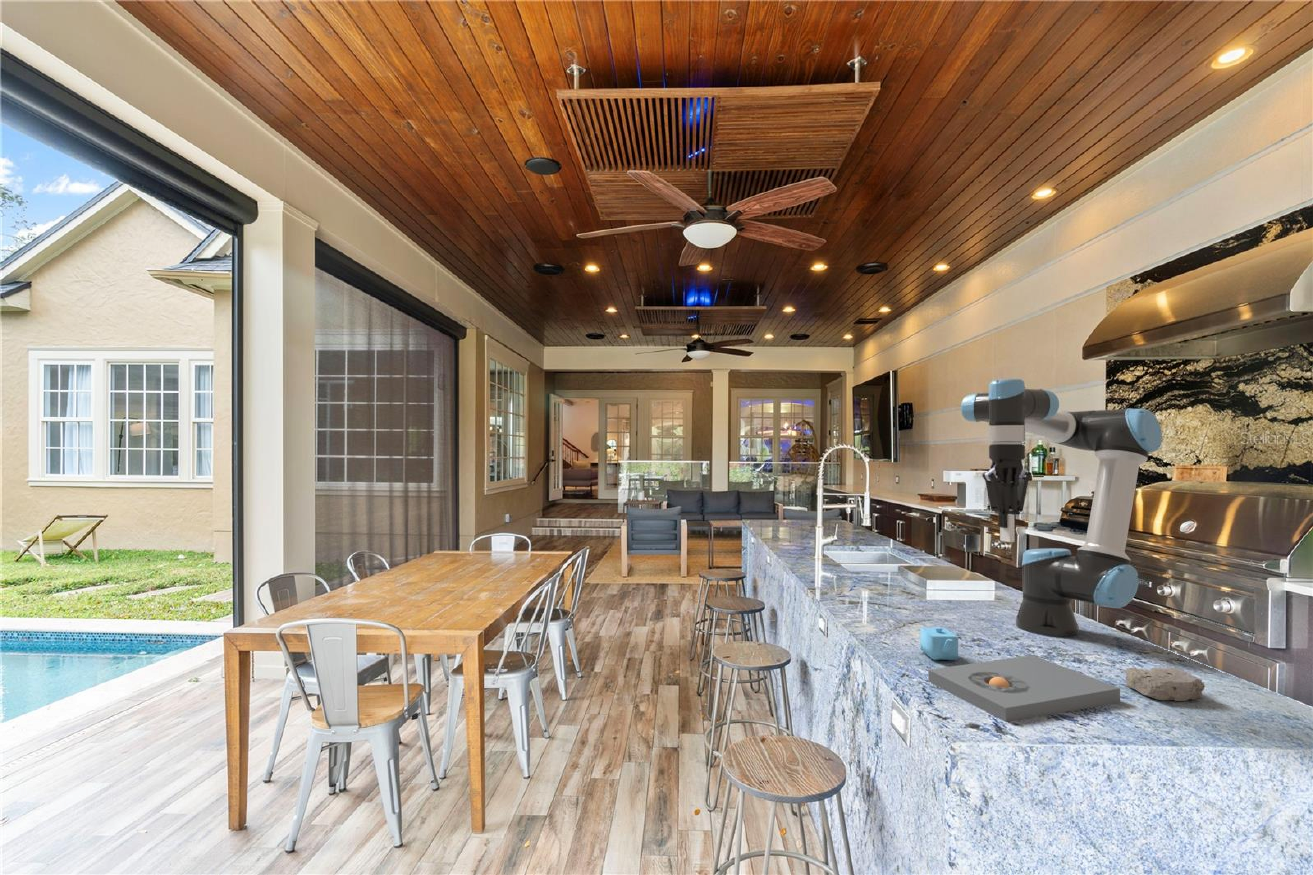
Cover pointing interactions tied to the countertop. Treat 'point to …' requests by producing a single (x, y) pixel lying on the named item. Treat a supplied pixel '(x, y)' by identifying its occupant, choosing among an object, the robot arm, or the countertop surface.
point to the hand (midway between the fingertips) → (1007, 541)
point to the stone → (1165, 683)
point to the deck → (1024, 687)
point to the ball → (999, 682)
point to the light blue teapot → (939, 643)
